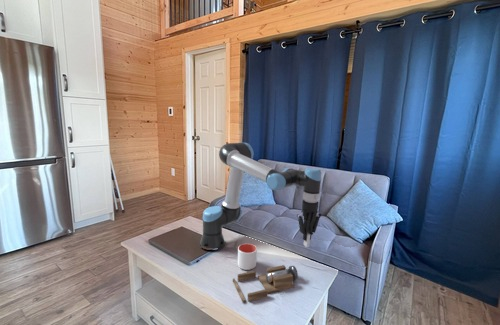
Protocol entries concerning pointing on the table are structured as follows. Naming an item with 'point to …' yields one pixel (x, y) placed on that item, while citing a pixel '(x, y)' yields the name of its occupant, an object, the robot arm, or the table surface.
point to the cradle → (266, 283)
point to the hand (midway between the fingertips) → (306, 245)
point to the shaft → (282, 273)
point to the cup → (247, 256)
